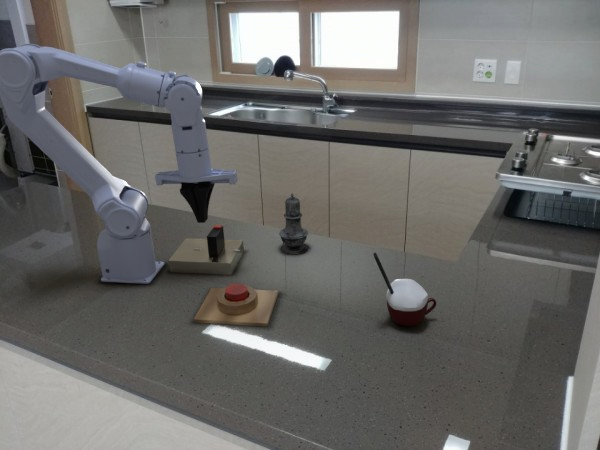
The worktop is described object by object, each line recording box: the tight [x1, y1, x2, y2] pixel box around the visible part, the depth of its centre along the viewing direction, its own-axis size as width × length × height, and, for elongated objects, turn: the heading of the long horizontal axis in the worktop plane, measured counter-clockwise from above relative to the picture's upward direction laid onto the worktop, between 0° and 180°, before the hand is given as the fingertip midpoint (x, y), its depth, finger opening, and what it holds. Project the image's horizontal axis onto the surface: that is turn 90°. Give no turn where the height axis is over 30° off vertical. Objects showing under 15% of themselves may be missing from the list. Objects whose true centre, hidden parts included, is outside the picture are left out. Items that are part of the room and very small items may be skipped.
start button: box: [225, 283, 248, 302], centre depth 88 cm, size 4×4×2 cm
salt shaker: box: [278, 193, 309, 255], centre depth 107 cm, size 6×6×12 cm
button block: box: [193, 285, 280, 328], centre depth 89 cm, size 12×10×2 cm
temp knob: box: [206, 224, 225, 256], centre depth 103 cm, size 5×2×4 cm, turn 172°
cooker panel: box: [168, 237, 245, 276], centre depth 105 cm, size 13×10×3 cm
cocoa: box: [373, 252, 437, 327], centre depth 82 cm, size 10×6×12 cm, turn 71°
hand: (202, 220), depth 99 cm, fingers closed
